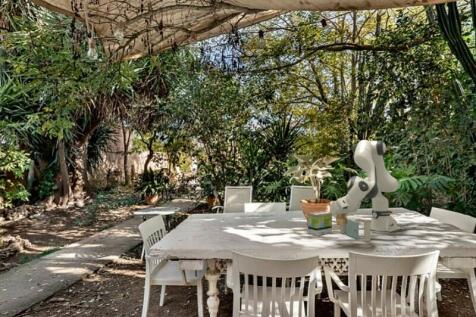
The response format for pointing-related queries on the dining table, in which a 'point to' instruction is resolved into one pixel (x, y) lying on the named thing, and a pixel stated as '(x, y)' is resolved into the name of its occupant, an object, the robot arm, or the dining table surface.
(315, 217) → the tea box
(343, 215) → the doorstop
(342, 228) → the hinge wall
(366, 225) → the jamb
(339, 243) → the dining table surface
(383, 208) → the robot arm
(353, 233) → the door
